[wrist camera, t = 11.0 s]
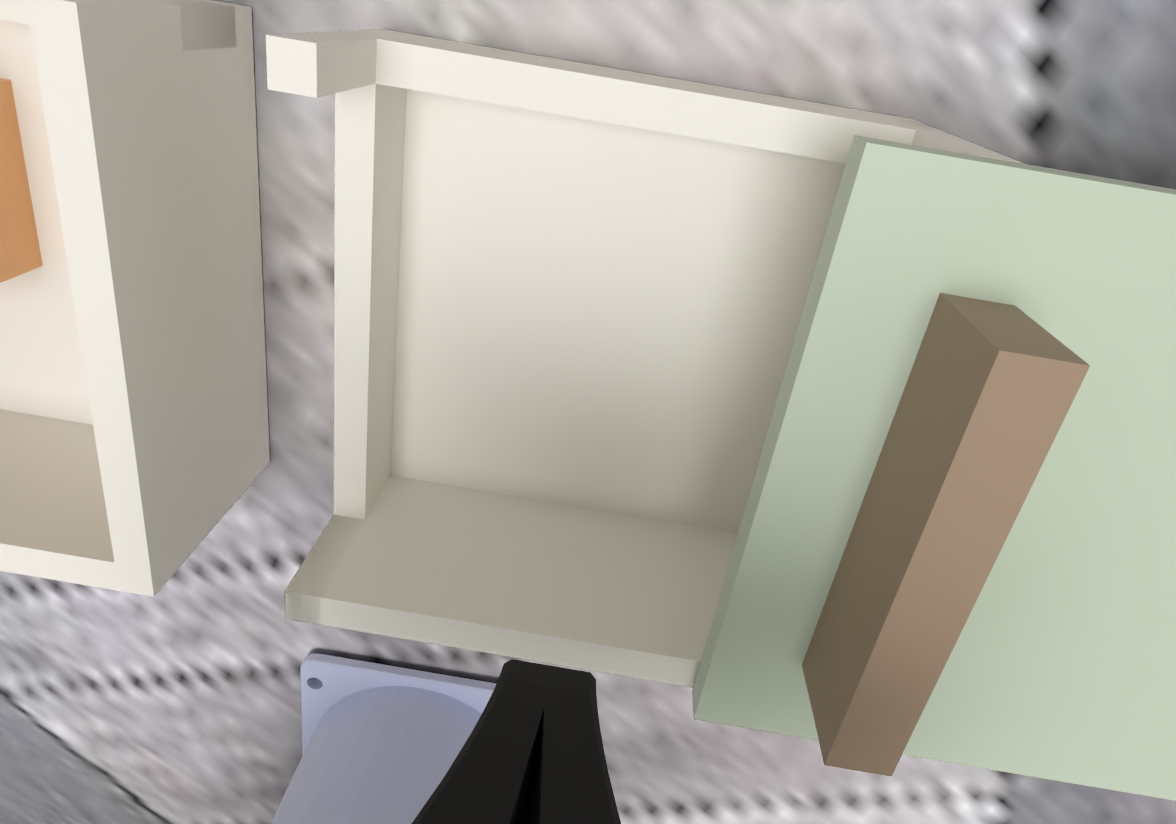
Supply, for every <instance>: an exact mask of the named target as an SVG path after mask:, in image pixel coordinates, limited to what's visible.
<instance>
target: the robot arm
mask: <svg viewBox="0 0 1176 824" xmlns="http://www.w3.org/2000/svg"><path fill="white" fill-rule="evenodd" d="M300 674H301V718H302V758H301V760H300V762H299V765H298V767H297V769H296V771H295V773H294V775H293V777H292V779H291V781H290V783H289V786H288V788H287V790H286V792H285V794H284V796H283V798H282V800H281V802H280V804H279V807H278V809H277V811H276V813H275V815H274V817H273V819H272V821H271V823H270V824H524V823H525V824H621V822H620V818H619V814H618V811H617V807H616V802H615V798H614V794H613V790H612V786H611V782H610V778H609V774H608V769H607V764H606V760H605V755H604V749H603V744H602V738H601V732H600V726H599V718H598V710H597V699H596V679H595V678H594V677H593V675H592V674H591V673H590V672H584V671H578V670H572V669H566V668H560V667H554V666H548V665H542V664H536V663H530V662H525V661H519V660H513V659H512V660H510V661H508V662H506V663H504V665H503V668H502V671H501V674H500V677H499V679H498V681H497V684H496V683H490V682H484V681H478V680H472V679H467V678H461V677H455V676H449V675H443V674H437V673H431V672H425V671H419V670H413V669H407V668H401V667H395V666H390V665H384V664H378V663H372V662H366V661H360V660H354V659H348V658H342V657H336V656H330V655H324V654H310V655H308V656H307V657H306V658H305V659H304V661H303V663H302V665H301V668H300ZM315 678H317V679H319V680H317V679H315Z"/></svg>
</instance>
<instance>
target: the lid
mask: <svg viewBox="0 0 1176 824" xmlns="http://www.w3.org/2000/svg"><path fill="white" fill-rule="evenodd" d="M692 694H693V712H694V719H695V720H701V721H707V722H713V723H719V724H725V725H730V726H736V727H742V728H748V729H754V730H760V731H766V732H772V733H778V734H784V735H790V736H796V737H802V738H807V739H813V740H819V743H820V748H821V752H822V756H823V761H824V765H828V766H834V767H839V768H845V769H851V770H857V771H863V772H869V773H875V774H881V775H887V776H892V774H893V772H894V770H895V768H896V766H897V764H898V762H899V760H900V758H901V756H902V755H908V756H914V757H920V758H926V759H932V760H938V761H944V762H950V763H956V764H962V765H967V766H973V767H979V768H985V769H991V770H997V771H1003V772H1009V773H1015V774H1021V775H1027V776H1033V777H1039V778H1044V779H1050V780H1056V781H1062V782H1068V783H1074V784H1080V785H1086V786H1092V787H1098V788H1104V789H1110V790H1116V791H1121V792H1127V793H1133V794H1139V795H1145V796H1151V797H1157V798H1163V799H1169V800H1175V801H1176V189H1170V188H1164V187H1158V186H1152V185H1146V184H1140V183H1134V182H1128V181H1123V180H1117V179H1111V178H1105V177H1099V176H1093V175H1087V174H1081V173H1075V172H1069V171H1063V170H1058V169H1052V168H1046V167H1040V166H1034V165H1028V164H1022V163H1016V162H1010V161H1004V160H999V159H993V158H987V157H981V156H975V155H969V154H963V153H957V152H951V151H945V150H939V149H934V148H928V147H922V146H916V145H910V144H904V143H898V142H892V141H886V140H880V139H875V138H869V137H863V136H857V135H854V137H853V141H852V144H851V148H850V151H849V154H848V158H847V161H846V165H845V168H844V172H843V175H842V178H841V182H840V185H839V189H838V192H837V196H836V199H835V203H834V206H833V209H832V213H831V216H830V220H829V223H828V227H827V230H826V233H825V237H824V240H823V244H822V247H821V251H820V254H819V257H818V261H817V264H816V268H815V271H814V275H813V278H812V282H811V285H810V288H809V292H808V295H807V299H806V302H805V306H804V309H803V312H802V316H801V319H800V323H799V326H798V330H797V333H796V337H795V340H794V343H793V347H792V350H791V354H790V357H789V361H788V364H787V367H786V371H785V374H784V378H783V381H782V385H781V388H780V391H779V395H778V398H777V402H776V405H775V409H774V412H773V416H772V419H771V422H770V426H769V429H768V433H767V436H766V440H765V443H764V446H763V450H762V453H761V457H760V460H759V464H758V467H757V470H756V474H755V477H754V481H753V484H752V488H751V491H750V495H749V498H748V501H747V505H746V508H745V512H744V515H743V519H742V522H741V525H740V529H739V532H738V536H737V539H736V543H735V546H734V549H733V553H732V556H731V560H730V563H729V567H728V570H727V574H726V577H725V580H724V584H723V587H722V591H721V594H720V598H719V601H718V604H717V608H716V611H715V615H714V618H713V622H712V625H711V629H710V632H709V635H708V639H707V642H706V646H705V649H704V653H703V656H702V659H701V663H700V666H699V670H698V673H697V677H696V680H695V683H694V687H693V690H692Z"/></svg>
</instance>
